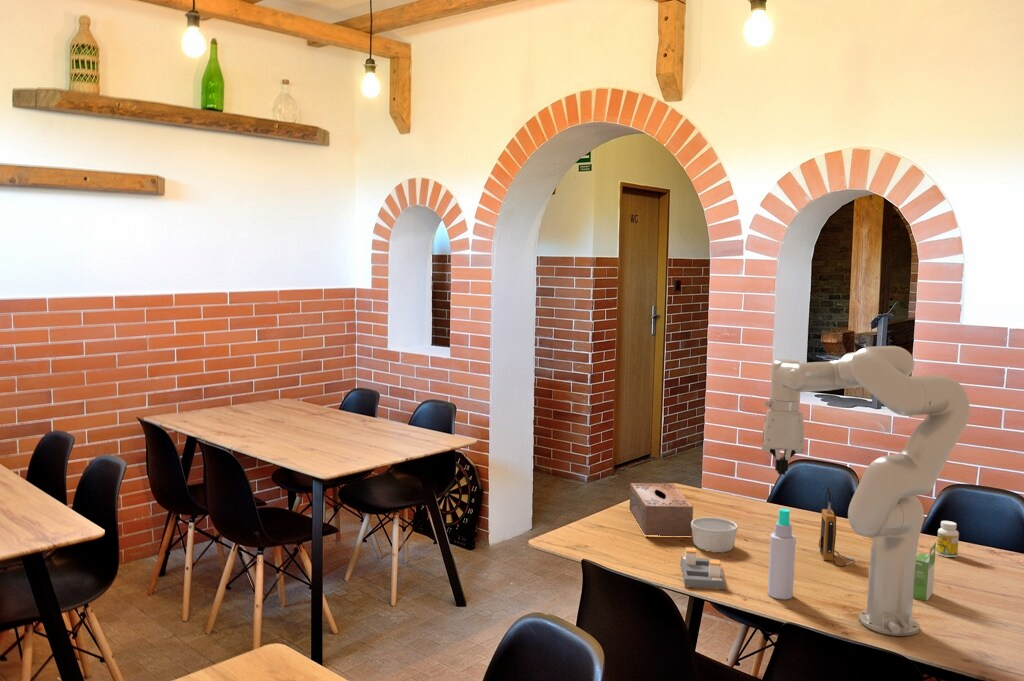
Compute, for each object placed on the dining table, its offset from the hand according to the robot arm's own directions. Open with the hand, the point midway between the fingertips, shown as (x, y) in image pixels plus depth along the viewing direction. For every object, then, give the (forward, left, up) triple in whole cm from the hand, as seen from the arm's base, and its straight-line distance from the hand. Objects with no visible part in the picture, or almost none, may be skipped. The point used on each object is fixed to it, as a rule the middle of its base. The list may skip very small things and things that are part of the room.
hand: (781, 473), depth 219 cm
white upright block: (-12, +18, -27) cm, 35 cm away
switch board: (-8, +21, -27) cm, 35 cm away
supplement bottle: (+23, -52, -27) cm, 63 cm away
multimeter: (+14, -20, -27) cm, 37 cm away
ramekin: (+17, +15, -27) cm, 36 cm away
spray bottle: (-17, +2, -27) cm, 32 cm away
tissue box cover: (+35, +30, -28) cm, 54 cm away
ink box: (-10, -34, -27) cm, 45 cm away
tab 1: (-4, +23, -27) cm, 36 cm away
